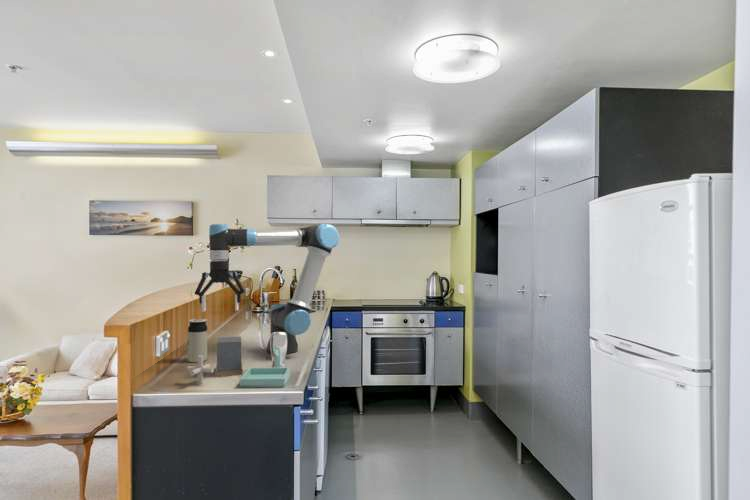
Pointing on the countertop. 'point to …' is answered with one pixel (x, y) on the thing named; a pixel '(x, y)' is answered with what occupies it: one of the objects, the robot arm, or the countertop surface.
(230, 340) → the mounted unit
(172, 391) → the countertop surface
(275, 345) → the beer glass
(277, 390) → the countertop surface
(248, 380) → the tray
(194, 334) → the travel mug
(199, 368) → the pipe connector
